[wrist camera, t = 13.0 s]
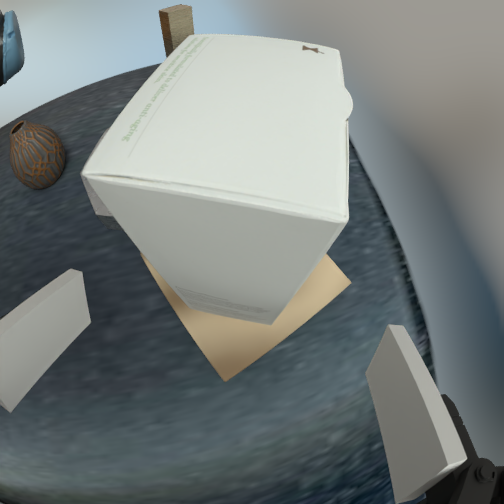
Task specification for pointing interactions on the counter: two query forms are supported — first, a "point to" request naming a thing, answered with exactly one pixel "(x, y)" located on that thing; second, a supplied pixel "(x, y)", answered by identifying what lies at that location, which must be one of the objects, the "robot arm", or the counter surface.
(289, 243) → the skincare box
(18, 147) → the vase
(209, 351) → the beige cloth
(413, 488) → the robot arm
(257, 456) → the counter surface
